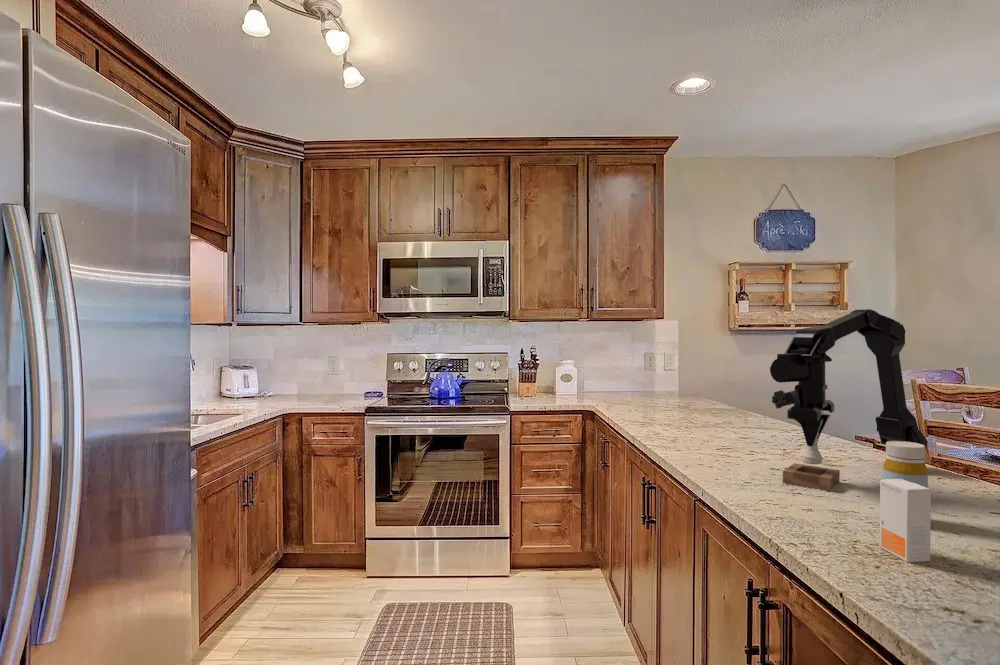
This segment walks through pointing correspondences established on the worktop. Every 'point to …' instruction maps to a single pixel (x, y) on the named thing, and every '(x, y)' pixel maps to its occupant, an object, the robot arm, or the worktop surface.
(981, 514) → the worktop surface
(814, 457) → the rook chess piece
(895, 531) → the skincare box
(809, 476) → the socket
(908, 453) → the bottle
